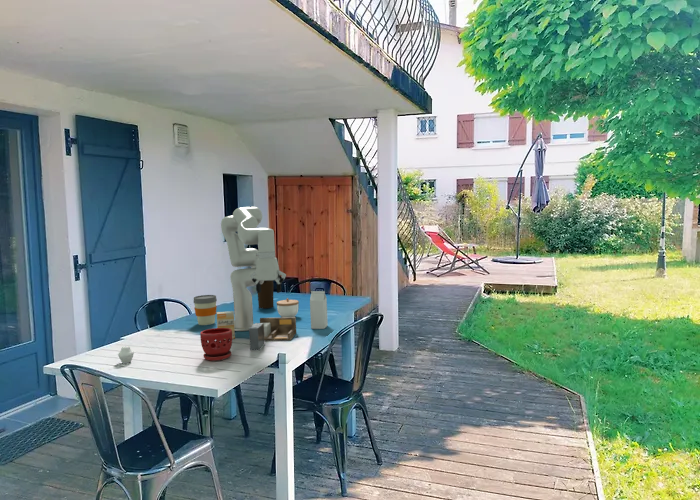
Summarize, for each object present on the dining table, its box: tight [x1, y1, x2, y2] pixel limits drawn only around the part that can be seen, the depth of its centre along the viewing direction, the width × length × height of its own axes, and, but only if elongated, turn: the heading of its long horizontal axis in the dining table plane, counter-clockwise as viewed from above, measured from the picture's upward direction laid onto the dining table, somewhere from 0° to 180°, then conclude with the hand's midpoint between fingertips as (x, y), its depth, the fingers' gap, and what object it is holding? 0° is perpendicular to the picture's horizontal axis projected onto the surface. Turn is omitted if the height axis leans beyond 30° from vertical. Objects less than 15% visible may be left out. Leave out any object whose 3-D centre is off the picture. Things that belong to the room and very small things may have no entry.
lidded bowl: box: [276, 297, 300, 318], centre depth 295 cm, size 13×13×11 cm
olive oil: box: [257, 280, 275, 309], centre depth 327 cm, size 11×11×25 cm
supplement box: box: [216, 310, 236, 340], centre depth 251 cm, size 8×5×13 cm, turn 105°
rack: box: [259, 316, 297, 342], centre depth 251 cm, size 18×14×8 cm
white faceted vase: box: [117, 345, 135, 364], centre depth 217 cm, size 6×6×7 cm
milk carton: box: [309, 290, 329, 330], centre depth 266 cm, size 7×7×19 cm
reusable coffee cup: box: [193, 294, 217, 326], centre depth 287 cm, size 13×13×15 cm
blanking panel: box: [248, 322, 266, 351], centre depth 233 cm, size 4×10×10 cm, turn 175°
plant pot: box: [199, 327, 233, 362], centre depth 218 cm, size 13×13×12 cm
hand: (268, 292), depth 237 cm, fingers open, 9 cm apart
